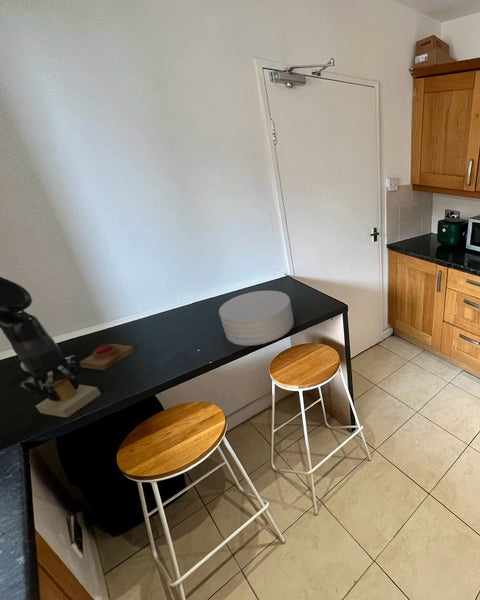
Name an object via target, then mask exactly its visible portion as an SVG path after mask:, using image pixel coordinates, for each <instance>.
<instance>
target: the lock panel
mask: <svg viewBox="0 0 480 600" xmlns="http://www.w3.org/2000/svg"><path fill="white" fill-rule="evenodd" d="M78 387H79V388H78V389H76V392H77V394H76V395H75V396H74V397H72V398H70V399H68V400H65V401H58V402H57V401H50V400H49V399H48V398H46V399H44V400H43V401H41V402H39V403H38V404H36V405H35V407H36V409H37V410H38V412H39V413H40V414H43V415H49V416H56V417H60V418H65V417H66V419H68V418H69V417H70V416H72V415H73V414H74V413H76V412H78V411H79V410H81V409H82V408H84V406H86V405H88V404H89V403H91V402H92V401H93V400H95V399H97V398H98V397H99V396H101V394H102V393H101V391H100V390H99V388H98V386H93V385H92V386H91V385H87V384H79V386H78ZM80 408H81V409H80ZM77 410H78V411H77ZM67 417H68V418H67Z"/></svg>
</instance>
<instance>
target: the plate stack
mask: <svg viewBox="0 0 480 600" xmlns="http://www.w3.org/2000/svg"><path fill="white" fill-rule="evenodd" d="M218 315H219V317H220V321H221V325H222V327H223V331H224V335H225V338H226V340H228V342H230V343H232V344H234V345H237V346H258V345H264V344H268V343H271V342H274V341H276V340H278V339H280V338H282V337H284V336H285V335H286V334H288V333H289V332H290V331H291V330H292V328H293V327H294V325H295V321H294V315H293V310H292V304H291V299H290V296H289V295H288V294H286V293H284V292H281V291H278V290H257V291H251V292H246V293H242V294H240V295H237V296H234V297H232V298H231V299H228V300H227V301H225V302H224V303H223V304H222V305H221V306H220V307H219V310H218Z"/></svg>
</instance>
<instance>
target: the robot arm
mask: <svg viewBox="0 0 480 600" xmlns="http://www.w3.org/2000/svg"><path fill="white" fill-rule="evenodd" d="M32 303H33V296H32V294H31V292H30V291H29V290H28V289H27V288H25V287H24V286H22V285H21V284H19V283H17V282H14V281H12V280H10V279H8V278H5V277H3V276H0V329H1V331H2V333H3V334H4V336H5V338H6V339H7V340H8V341H9V344H10V345H11V349H12V350H13V351H14V352H15V354H16V355H17V357H18V358H19V360H20V361H21V363H23V364H24V366H25V367H26V369H27V370H28V371H29V372H28V371H27V372H28V377H27V378H26V379H25V380H24V381H20V382H19V383H18V386H19V387H21V388H22V389H24V390H26V391H27V392H29V393H30V394H32V395H34V396H39V397H43V396H46V398H47V399H49V400H50V401H57V402H58V401H59V400H61V399H60V398H59V396H58V395H57V393H56V392H55V391H53V384H54V380H55V379H57V378H58V377H63V379H66V378H67V379H69V380H70V382H71V384H72V385H73V387H74V388H75V390H76V389H78V388H79V387H78V386H79V385H80V383H79V382H78V380H77V379H76V377H77V375H79V374H81V372H82V371H81V365H80V364H79V362H80V359H79V356H78V355H71V354H69V355H68V356H66V357H64V356H63V354H62V352H61V350H60V348H59V346H58V347H57V345H58V344H57V343H56V341H55V340H54V338H53V337H52V336H51V335H50V333H49V332H48V331H47V330H46V328H45V326H44V325H43V323H42V321H41V320H40V319H39V318H38V317H37V316H36V315H35V314H32V313H30V312H28V311H26V310H27V309H28V308H29V307H31V305H32ZM55 343H56V344H57V345H56V344H55ZM58 348H59V349H58ZM67 364H68V369H69V370H68V369H67V368H66V367H67ZM35 380H38V384H39V386H40V388H39V387H38V386H36V382H35Z"/></svg>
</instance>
